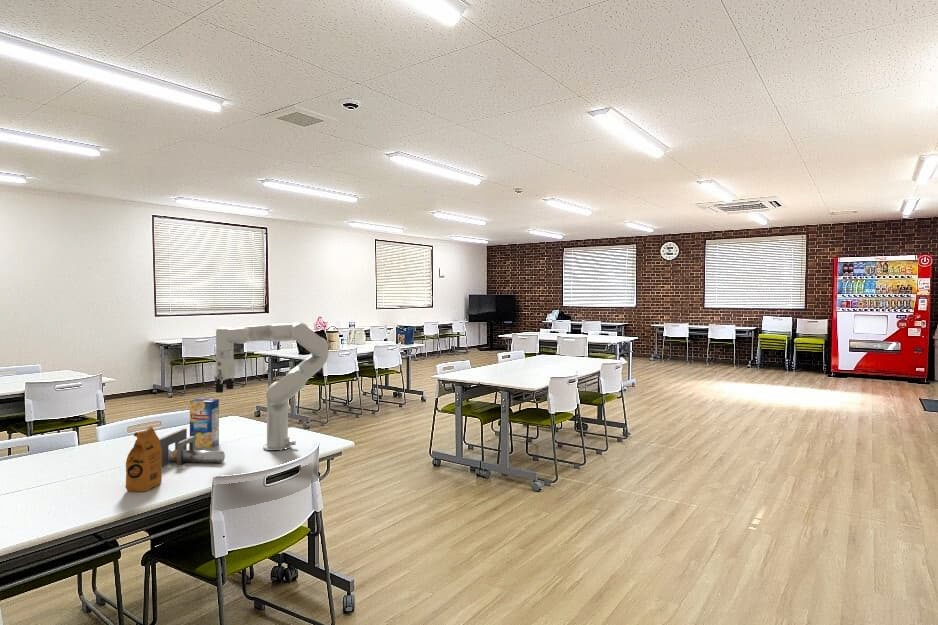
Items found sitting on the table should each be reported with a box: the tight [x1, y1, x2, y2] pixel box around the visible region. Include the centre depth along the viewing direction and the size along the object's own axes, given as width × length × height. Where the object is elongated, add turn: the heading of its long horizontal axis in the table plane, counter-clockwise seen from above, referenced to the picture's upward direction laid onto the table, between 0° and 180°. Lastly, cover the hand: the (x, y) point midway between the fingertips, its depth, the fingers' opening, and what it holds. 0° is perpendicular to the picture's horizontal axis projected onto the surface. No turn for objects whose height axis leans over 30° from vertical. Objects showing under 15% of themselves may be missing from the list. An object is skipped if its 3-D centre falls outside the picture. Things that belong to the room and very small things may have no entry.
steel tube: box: [169, 449, 226, 464], centre depth 244 cm, size 24×5×5 cm, turn 87°
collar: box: [176, 436, 196, 466], centre depth 244 cm, size 2×11×10 cm, turn 177°
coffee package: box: [125, 426, 163, 493], centre depth 212 cm, size 10×12×22 cm
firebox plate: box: [158, 427, 188, 468], centre depth 244 cm, size 2×20×12 cm, turn 177°
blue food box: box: [189, 398, 220, 448], centre depth 270 cm, size 7×11×22 cm, turn 86°
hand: (224, 390), depth 261 cm, fingers open, 9 cm apart
